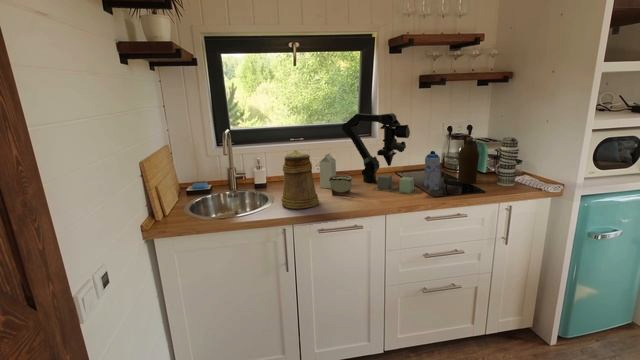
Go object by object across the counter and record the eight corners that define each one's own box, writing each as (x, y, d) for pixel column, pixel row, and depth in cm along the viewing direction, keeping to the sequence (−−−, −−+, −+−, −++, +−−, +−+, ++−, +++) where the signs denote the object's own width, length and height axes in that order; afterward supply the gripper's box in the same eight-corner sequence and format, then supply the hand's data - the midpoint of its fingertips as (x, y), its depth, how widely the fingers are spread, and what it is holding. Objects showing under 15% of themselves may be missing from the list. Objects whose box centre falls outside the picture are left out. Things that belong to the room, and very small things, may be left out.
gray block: (377, 188, 185) (377, 176, 183) (382, 186, 189) (382, 174, 187) (387, 190, 182) (387, 177, 180) (391, 187, 186) (392, 175, 184)
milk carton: (320, 187, 197) (319, 154, 192) (325, 184, 203) (323, 152, 198) (332, 188, 194) (331, 155, 189) (336, 185, 200) (335, 152, 196)
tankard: (283, 211, 160) (279, 159, 154) (279, 197, 183) (275, 150, 176) (322, 207, 164) (319, 155, 157) (313, 193, 186) (310, 147, 180)
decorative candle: (510, 187, 182) (515, 139, 176) (493, 184, 189) (497, 138, 183) (518, 183, 188) (523, 137, 181) (500, 180, 195) (504, 136, 188)
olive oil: (464, 185, 190) (467, 139, 183) (452, 180, 200) (455, 137, 193) (481, 183, 192) (484, 138, 186) (469, 178, 202) (472, 135, 196)
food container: (355, 193, 183) (354, 175, 181) (352, 197, 178) (352, 178, 175) (332, 192, 187) (332, 174, 185) (329, 195, 182) (328, 177, 179)
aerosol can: (426, 185, 193) (427, 149, 188) (440, 186, 188) (442, 150, 183) (421, 188, 187) (423, 152, 182) (436, 190, 182) (438, 153, 177)
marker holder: (371, 192, 184) (371, 179, 182) (380, 186, 193) (380, 174, 192) (411, 198, 172) (412, 184, 170) (419, 191, 181) (420, 178, 179)
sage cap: (399, 191, 178) (399, 179, 176) (403, 188, 183) (403, 176, 181) (409, 193, 175) (410, 180, 173) (413, 190, 179) (414, 177, 178)
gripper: (397, 140, 174) (396, 170, 178) (410, 135, 189) (409, 163, 193) (376, 139, 180) (376, 168, 184) (390, 134, 195) (390, 162, 199)
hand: (389, 165), depth 190 cm, fingers closed
